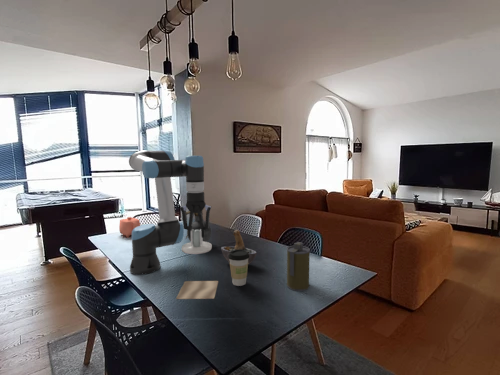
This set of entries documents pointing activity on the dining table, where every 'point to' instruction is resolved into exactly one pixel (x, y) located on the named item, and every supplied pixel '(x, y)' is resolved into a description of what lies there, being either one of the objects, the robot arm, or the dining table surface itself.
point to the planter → (238, 245)
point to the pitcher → (199, 227)
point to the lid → (196, 245)
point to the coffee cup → (238, 266)
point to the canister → (298, 267)
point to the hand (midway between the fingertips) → (196, 244)
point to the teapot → (128, 226)
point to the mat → (198, 290)
